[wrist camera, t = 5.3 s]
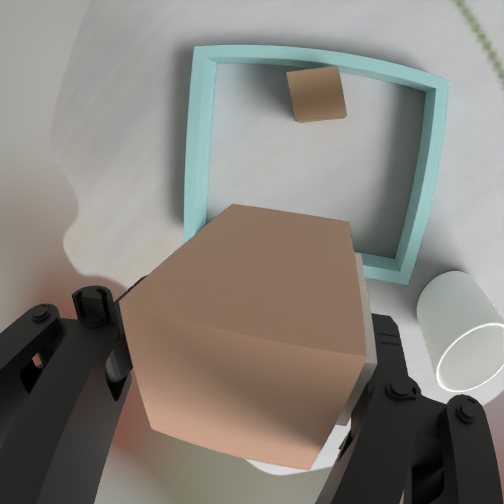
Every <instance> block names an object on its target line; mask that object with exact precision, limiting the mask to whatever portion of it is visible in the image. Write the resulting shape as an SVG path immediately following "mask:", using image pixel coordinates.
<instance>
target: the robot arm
mask: <svg viewBox="0 0 504 504" xmlns="http://www.w3.org/2000/svg"><path fill="white" fill-rule="evenodd" d="M354 254H355V260H356V266H357V273H358V280H359V287H360V295H361V303H362V311H363V320H364V330H365V340H366V352H367V358H366V360H365V362H364V365H363V367H362V369H361V372H360V374H359V376H358V378H357V381H356V383H355V385H354V387H353V389H352V392H351V394H350V396H349V398H348V400H347V402H346V404H345V406H344V408H343V410H342V412H341V414H340V416H339V418H338V420H337V422H336V424H335V425H344V426H346V425H347V423H348V421H349V420H350V418H351V429H350V431H349V433H348V434H347V436H346V437H345V439H344V441H343V442H342V444H341V445H340V447H339V449H340V452H339V454H338V457H337V459H336V461H335V463H334V466H333V468H332V470H331V472H330V474H329V477H328V479H327V481H326V483H325V485H324V487H323V489H322V491H321V493H320V495H319V497H318V499H317V501H316V503H315V504H399V503H400V500H401V496H402V493H403V490H404V501H403V504H503V497H502V489H501V483H500V477H499V470H498V465H497V459H496V455H495V450H494V445H493V441H492V437H491V433H490V429H489V425H488V422H487V418H486V414H485V411H484V409H483V407H482V405H481V404H480V403H479V402H478V401H477V400H476V399H474V398H472V397H471V396H468V395H463V394H461V395H456V396H454V397H453V398H451V399H450V400H449V401H448V403H447V404H444V403H441V402H438V401H435V400H432V399H429V398H427V397H425V396H423V395H421V389H420V388H419V386H418V384H417V383H416V382H415V381H414V380H413V379H412V378H410V377H409V376H408V372H407V367H406V362H405V357H404V352H403V347H402V343H401V338H400V334H399V330H398V326H397V324H396V323H395V322H394V321H393V319H392V318H391V317H390V316H386V315H379V314H372V313H371V309H370V303H369V296H368V290H367V284H366V279H365V273H364V268H363V263H362V258H361V254H357V253H354ZM146 276H148V275H146ZM146 276H144V277H142V278H141V279H140V280H138V281H137V282H136V283H135V284H134V286H132V287H130V288H129V289H128V291H127V292H125V293H124V294H123V295H122V296H120V297H119V298H118V299H117V300H116V301H115V302H113V298H112V294H111V291H110V290H109V289H107V288H106V287H102V286H88V287H84V288H81V289H79V290H77V291H76V292H75V293H73V294H72V298H73V302H74V306H75V309H76V313H77V317H78V318H77V320H75V319H65V318H60V315H59V311H58V309H57V307H55V306H54V305H52V304H40V305H37V306H34V307H33V308H31V309H30V310H28V311H27V312H26V313H25V314H23V315H22V316H21V317H20V318H18V319H17V320H16V321H15V322H13V323H12V324H11V325H10V326H9V327H7V328H6V329H5V330H4V331H3V332H1V333H0V504H94V501H95V497H96V494H97V490H98V486H99V483H100V479H101V475H102V472H103V468H104V465H105V462H106V458H107V455H108V452H109V448H110V445H111V442H112V439H113V436H114V432H115V429H116V426H117V423H118V420H119V417H120V414H121V411H122V408H123V405H124V402H125V399H126V396H127V394H128V391H129V387H130V385H131V380H132V377H131V373H130V371H131V369H132V368H133V364H132V360H131V356H130V352H129V348H128V343H127V339H126V334H125V330H124V325H123V320H122V315H121V310H120V305H119V301H120V300H121V299H122V298H123V297H124V296H125V295H126V294H127V293H129V292H130V291H131V290H132V289H133V288H134V287H135V286H136V285H137V284H139V283H140V282H141V281H142V280H143V279H144V278H145V277H146ZM36 354H38V356H39V358H40V361H41V363H42V364H40V365H39V366H35V364H34V362H33V360H32V358H33V357H34V356H35V355H36Z"/></svg>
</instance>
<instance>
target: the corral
mask: <svg viewBox="0 0 504 504" xmlns="http://www.w3.org/2000/svg"><path fill="white" fill-rule="evenodd" d="M219 63H240V64H268V65H283V66H295V67H305V68H313V69H316V68H325V67H336V66H338V69H339V72H342V73H348V74H353V75H359V76H364V77H369V78H374V79H378V80H383V81H387V82H391V83H395V84H399V85H403V86H407V87H411V88H414V89H418V90H421V91H424V92H426V95H425V106H424V116H423V124H422V132H421V139H420V146H419V153H418V159H417V165H416V170H415V176H414V181H413V186H412V191H411V196H410V200H409V205H408V209H407V214H406V218H405V222H404V226H403V230H402V234H401V238H400V242H399V245H398V249H397V253H396V256H395V259H392V258H387V257H382V256H377V255H372V254H366V253H361V252H356V251H354V253H357V254H361V258H362V263H363V268H364V273H365V278H370V279H376V280H381V281H387V282H392V283H398V284H403V285H408V283H409V280H410V277H411V274H412V271H413V268H414V265H415V262H416V259H417V255H418V252H419V249H420V245H421V242H422V238H423V235H424V231H425V227H426V223H427V219H428V215H429V211H430V207H431V203H432V198H433V194H434V189H435V184H436V179H437V174H438V169H439V163H440V157H441V151H442V145H443V138H444V130H445V122H446V113H447V102H448V88H449V80H448V79H445V78H442V77H439V76H436V75H433V74H430V73H427V72H424V71H420V70H417V69H414V68H410V67H406V66H403V65H399V64H395V63H391V62H387V61H382V60H378V59H373V58H368V57H363V56H358V55H352V54H347V53H340V52H334V51H327V50H319V49H310V48H300V47H287V46H270V45H213V46H195V47H194V53H193V62H192V72H191V83H190V94H189V107H188V121H187V138H186V158H185V186H184V243H186V242H187V241H188V240H189V239H190V238H192V237H193V236H194V235H195V234H196V233H198V232H199V231H200V230H201V229H202V228H203V227H205V226H206V217H207V193H208V173H209V156H210V141H211V126H212V113H213V101H214V90H215V79H216V68H217V64H219Z"/></svg>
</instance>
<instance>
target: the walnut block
mask: <svg viewBox="0 0 504 504" xmlns="http://www.w3.org/2000/svg"><path fill="white" fill-rule="evenodd" d="M286 74H287V79H288V85H289V90H290V96H291V101H292V107H293V113H294V119H295V121H297V122H300V123H303V122H311V121H321V120H331V119H343V118H345V117H346V116H347V113H346V107H345V101H344V95H343V89H342V84H341V79H340V74H339V69H338V66H336V67H325V68H316V69H307V70H299V71H292V72H286Z"/></svg>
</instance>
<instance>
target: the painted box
mask: <svg viewBox="0 0 504 504" xmlns="http://www.w3.org/2000/svg"><path fill="white" fill-rule="evenodd" d="M119 305H120V310H121V315H122V320H123V325H124V330H125V334H126V339H127V343H128V348H129V352H130V356H131V360H132V364H133V368H134V372H135V375H136V379H137V382H138V386H139V390H140V393H141V396H142V399H143V403H144V406H145V409H146V413H147V416H148V419H149V421H150V425H151V428H152V429H154V430H157V431H159V432H162V433H164V434H167V435H170V436H172V437H175V438H178V439H181V440H184V441H187V442H190V443H193V444H196V445H199V446H202V447H206V448H209V449H212V450H215V451H219V452H222V453H226V454H230V455H234V456H238V457H241V458H245V459H250V460H254V461H259V462H263V463H268V464H273V465H278V466H284V467H290V468H296V469H303V470H310V468H311V467H312V465H313V463H314V462H315V460H316V458H317V457H318V455H319V453H320V451H321V450H322V448H323V446H324V444H325V443H326V441H327V439H328V437H329V435H330V433H331V432H332V430H333V428H334V426H335V424H336V422H337V420H338V418H339V416H340V414H341V412H342V410H343V408H344V406H345V404H346V402H347V400H348V398H349V396H350V394H351V392H352V389H353V387H354V385H355V383H356V381H357V378H358V376H359V374H360V372H361V369H362V367H363V365H364V362H365V360H366V358H367V352H366V340H365V330H364V320H363V311H362V303H361V295H360V287H359V280H358V273H357V266H356V260H355V254H354V248H353V242H352V236H351V230H350V225H349V222H346V221H341V220H335V219H329V218H323V217H317V216H311V215H305V214H298V213H292V212H285V211H279V210H272V209H265V208H258V207H251V206H244V205H237V204H232V205H230V206H229V207H228V208H227V209H225V210H224V211H223V212H222V213H220V214H219V215H218V216H217V217H216V218H214V219H213V220H212V221H211V222H210V223H208V224H207V225H206V226H205V227H203V228H202V229H201V230H200V231H199V232H198V233H196V234H195V235H194V236H193V237H192V238H190V239H189V240H188V241H187V242H186V243H184V244H183V245H182V246H181V247H180V248H179V249H177V250H176V251H175V252H174V253H173V254H172V255H170V256H169V257H168V258H167V259H166V260H165V261H164V262H162V263H161V264H160V265H159V266H158V267H157V268H156V269H154V270H153V271H152V272H151V273H150V274H149V275H148V276H146V277H145V278H144V279H143V280H142V281H141V282H140V283H139V284H137V285H136V286H135V287H134V288H133V289H132V290H131V291H130V292H129V293H127V294H126V295H125V296H124V297H123V298H122V299H121V300H120V301H119Z"/></svg>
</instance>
